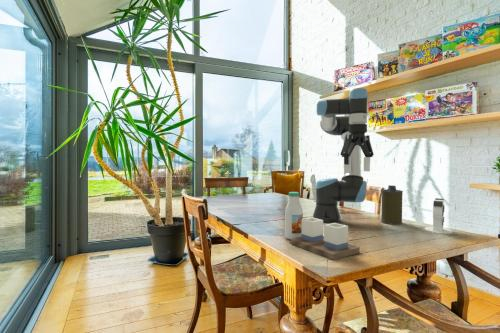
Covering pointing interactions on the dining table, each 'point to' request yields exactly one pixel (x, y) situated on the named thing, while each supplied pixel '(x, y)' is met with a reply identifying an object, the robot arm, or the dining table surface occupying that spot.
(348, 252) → the pin board
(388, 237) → the dining table surface
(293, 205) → the milk bottle
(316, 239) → the seated sleeve
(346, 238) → the white sleeve
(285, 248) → the dining table surface
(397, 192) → the canister
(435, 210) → the light grey upright piece
